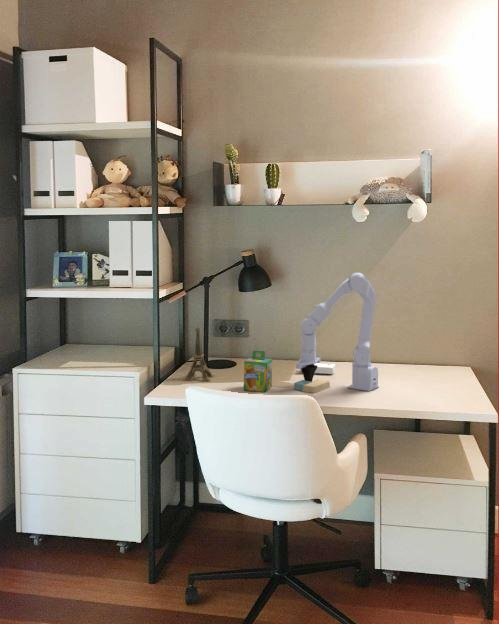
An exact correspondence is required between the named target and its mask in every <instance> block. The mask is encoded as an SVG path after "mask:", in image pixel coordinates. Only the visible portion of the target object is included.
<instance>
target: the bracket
mask: <svg viewBox="0 0 499 624" xmlns="http://www.w3.org/2000/svg"><path fill="white" fill-rule="evenodd" d="M314 365H317V369H316V371H315V373H314V374H325V375H327V374H328V375H334V374H335V373H336V364H335V363H315V364H314ZM300 371H301V370H300ZM301 373H302V371H301Z"/></svg>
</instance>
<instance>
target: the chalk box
mask: <svg viewBox="0 0 499 624" xmlns="http://www.w3.org/2000/svg"><path fill="white" fill-rule="evenodd" d="M265 352H266V351H265V350H253V351H252V356H250V357H248V358H247V359H246V360H244V364H243V366H244V367H243V391H244V392H259V393H267V392H268V391H269V390H271V388H272V387H273V386H272V384H273V359H272V358H270V357H266V356H265V354H266V353H265ZM258 354H260V356H256V355H258Z"/></svg>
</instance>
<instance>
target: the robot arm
mask: <svg viewBox="0 0 499 624" xmlns="http://www.w3.org/2000/svg"><path fill="white" fill-rule="evenodd" d="M353 291H354V292H356V293H357V294H358V295H359V296H360V297H361V298H362V299H363V301H362V306H361V307H362V309H361V316H360V323H359V330H358V336H357V342H356V346H355V348H354V349H353V353H352V354H353V360H354V361H353V362H352V365H351V366H352V368H351V369H352V370H351V371H352V372H351V373H352V375H351V385H348V386H347V388H349V389H352V390H353V389H355V390H361V391H366V392H370V391H373V390H375V389H377V388H380V387H379V370H378V367H377V366H374V365H372V362H371V361H372V360H371V359H372V356H371V354H370V353H371V352H370V346H371V335H372V331H373V330H372V329H373V322H374V321H373V320H374V316H375V315H374V313H375V308H376V301H377V300H376V299H377V295H376V292H375V290H374V289H373V287H372V284H371V282H370V281H369V278H367V277H366V276H365V275H364V274H363V273H362V272H353V273H352V274H351V275H350V276H349V277H347V278H346V279H345V280H343V282H342V283H341V284H340V285H338V287H337V288H336V289H335V290H334V292H332V294H331V295H330V296H329V297H328V299H326V300H325V302H321V303H318V304H315V305H314V307H313V308H314V309H313V310H312V311H311V312H309V314H307V315H306V316H305V318H303V320H302V322H301V325H300V330H301V338H300V340H301V341H300V359H298V361H297V362H296V363H295V369H297V370H300V371H302V372H301V374H302V376H303V380H306V381H311V382H313V379H314V376H315V374H316V373H315V371H316V369H317V365H314V364H315V363H321V362H322V361H321V360H322V359H321V357H318V356H317V337H316V332H317V327H318V326H320V325H322V324H323V322H324V321H325V320H326V319H327V318H328V317H329V316H330V315H331V311H332V310H331V308H333V307H334V305H336V303H338V301H340V299H342V297H343V296H345V295H347V294H350V293H353Z"/></svg>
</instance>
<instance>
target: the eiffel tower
mask: <svg viewBox="0 0 499 624" xmlns="http://www.w3.org/2000/svg"><path fill="white" fill-rule="evenodd" d="M194 331H195V332H196V333H195V334H196V335H195V344H194V345H195V347H194V354H193V356H192V357H193V361H192V364H191V366H190V367H191V368H190V370H189V371H188V373H187V375H186V376H185V378H184V379H183V382H191V381H192V377H193V378H194V377H196V372H200V373H201V374H202V381H201V382H202V383H203V382H204V383H210V381H211V379H210V378H214V377H215V375H214V374H213V373H212V371H211V370H210V369H209V368H208V366H207V363H206V362H205V359H204V356H205V354H204V353H203V348H202V340H201V339H202V338H201V331H202V329H201V327H199V326H197V327H196V328H195V329H194ZM198 360H199V363H198Z"/></svg>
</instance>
